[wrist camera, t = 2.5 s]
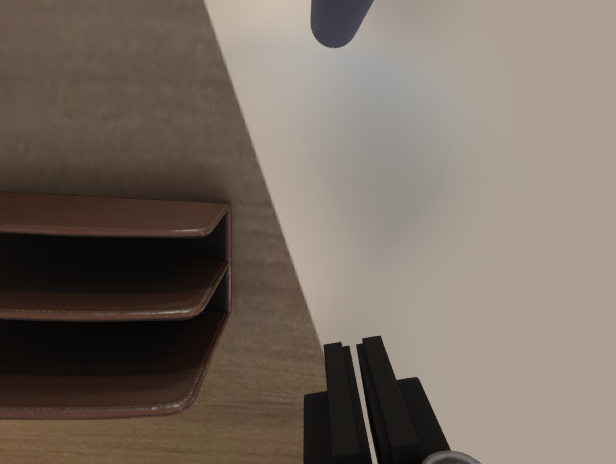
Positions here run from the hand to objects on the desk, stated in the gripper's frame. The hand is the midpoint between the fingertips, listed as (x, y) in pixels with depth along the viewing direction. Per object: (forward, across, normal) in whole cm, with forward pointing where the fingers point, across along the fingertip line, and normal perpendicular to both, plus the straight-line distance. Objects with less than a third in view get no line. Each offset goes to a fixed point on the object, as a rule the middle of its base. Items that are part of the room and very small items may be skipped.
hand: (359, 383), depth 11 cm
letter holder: (+21, +18, 0) cm, 28 cm away
